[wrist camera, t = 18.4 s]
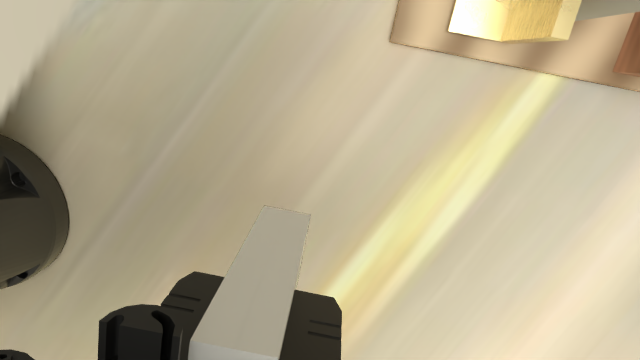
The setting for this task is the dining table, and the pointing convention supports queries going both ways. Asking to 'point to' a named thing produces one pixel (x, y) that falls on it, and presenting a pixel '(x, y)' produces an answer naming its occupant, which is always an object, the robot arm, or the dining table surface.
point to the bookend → (514, 19)
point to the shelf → (533, 44)
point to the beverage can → (606, 8)
